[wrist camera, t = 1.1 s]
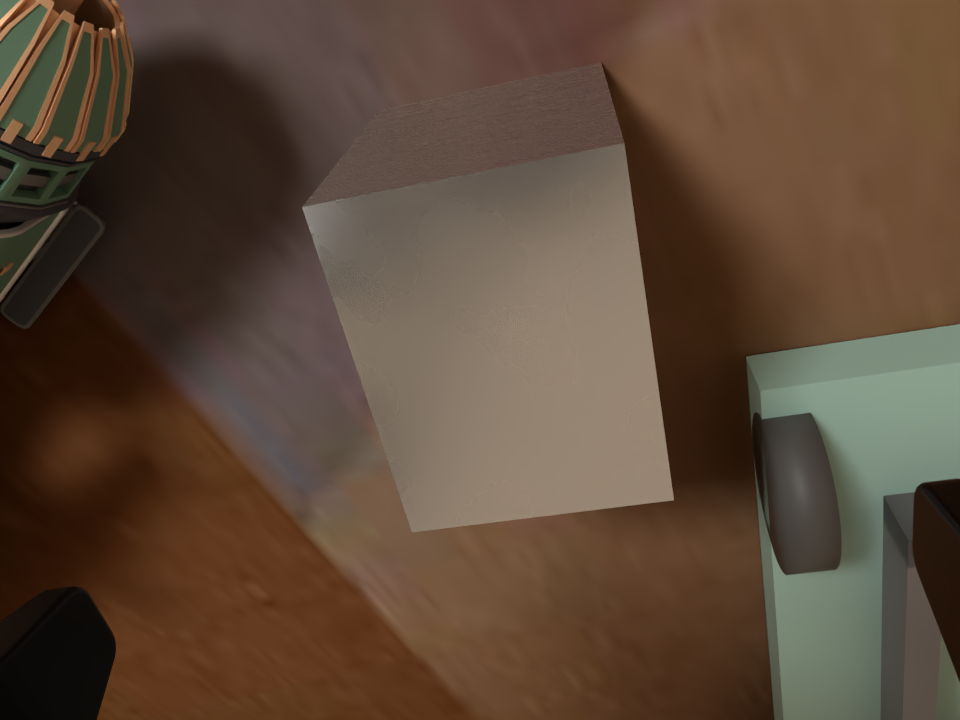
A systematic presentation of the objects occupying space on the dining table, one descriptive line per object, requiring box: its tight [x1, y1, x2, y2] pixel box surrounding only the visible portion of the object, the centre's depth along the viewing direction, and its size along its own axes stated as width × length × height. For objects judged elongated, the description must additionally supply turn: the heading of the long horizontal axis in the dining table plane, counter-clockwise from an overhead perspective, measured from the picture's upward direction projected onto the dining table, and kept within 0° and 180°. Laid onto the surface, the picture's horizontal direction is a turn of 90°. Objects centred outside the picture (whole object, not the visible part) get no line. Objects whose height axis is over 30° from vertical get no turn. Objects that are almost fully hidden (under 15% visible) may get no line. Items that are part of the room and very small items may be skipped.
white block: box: [302, 62, 674, 532], centre depth 15 cm, size 6×4×6 cm
